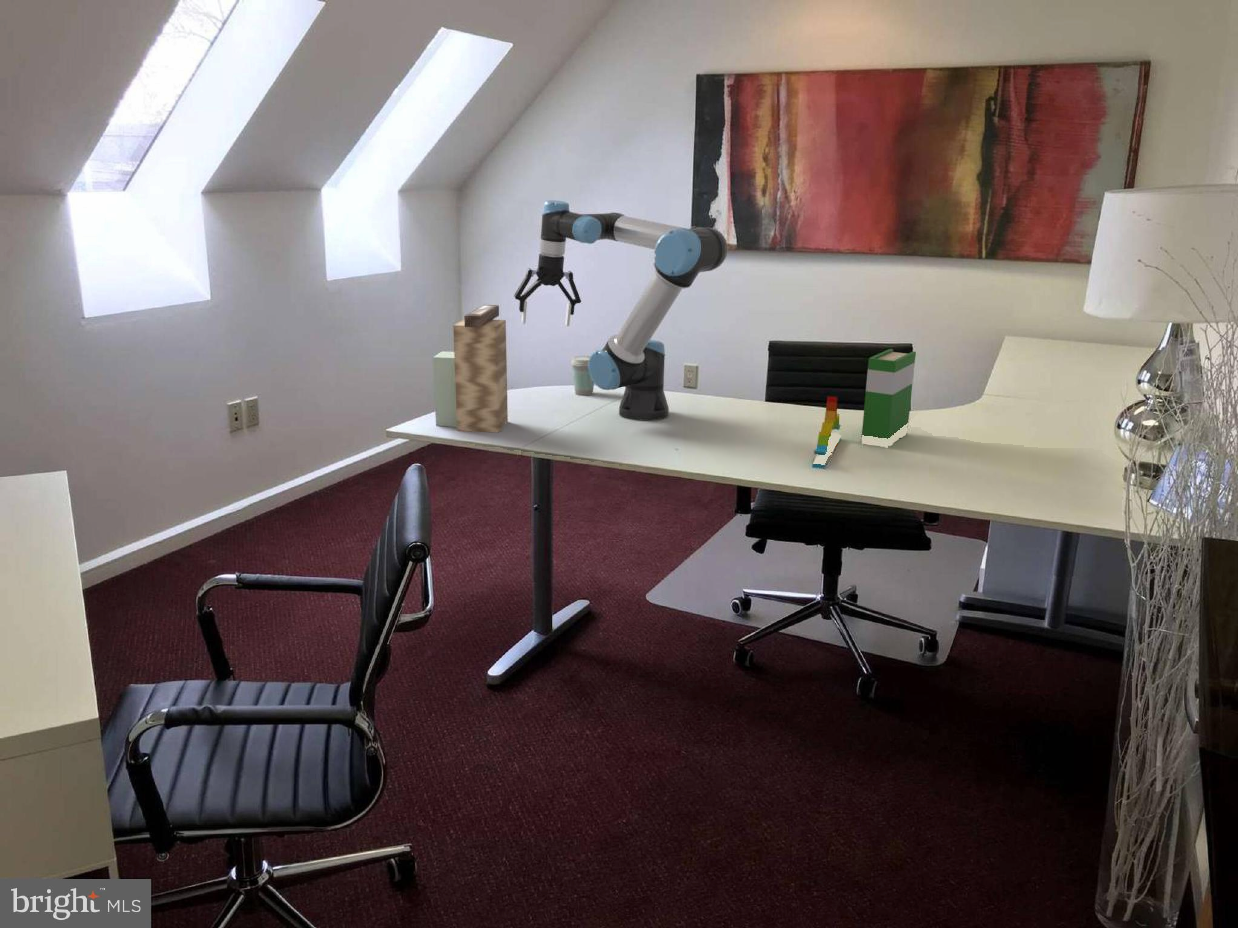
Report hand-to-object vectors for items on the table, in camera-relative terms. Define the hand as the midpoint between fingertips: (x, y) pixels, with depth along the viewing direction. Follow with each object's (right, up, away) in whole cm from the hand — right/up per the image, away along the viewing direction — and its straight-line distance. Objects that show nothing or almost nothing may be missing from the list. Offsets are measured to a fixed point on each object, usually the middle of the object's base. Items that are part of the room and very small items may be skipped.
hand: (545, 323), depth 295 cm
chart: (+78, -40, -37) cm, 95 cm away
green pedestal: (-27, -31, -12) cm, 42 cm away
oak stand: (-17, -32, -16) cm, 40 cm away
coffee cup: (+11, -20, +26) cm, 34 cm away
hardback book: (+97, -36, -23) cm, 106 cm away
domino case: (-16, -2, -22) cm, 27 cm away
